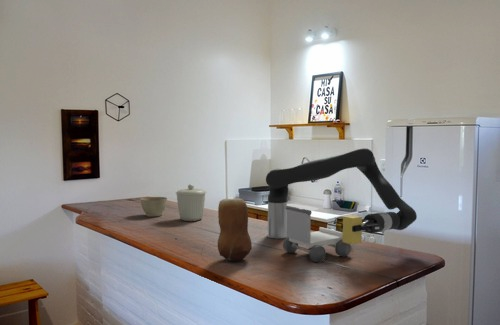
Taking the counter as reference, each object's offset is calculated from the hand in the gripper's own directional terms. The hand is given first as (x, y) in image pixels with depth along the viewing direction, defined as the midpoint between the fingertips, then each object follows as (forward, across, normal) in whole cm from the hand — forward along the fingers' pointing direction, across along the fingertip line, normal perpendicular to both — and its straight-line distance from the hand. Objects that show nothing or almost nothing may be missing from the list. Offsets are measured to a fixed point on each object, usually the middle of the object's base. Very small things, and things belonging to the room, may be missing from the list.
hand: (347, 227), depth 164 cm
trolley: (-2, -19, +15) cm, 24 cm away
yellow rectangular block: (-3, 0, +6) cm, 7 cm away
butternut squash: (+31, -30, +15) cm, 46 cm away
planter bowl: (+22, -142, +17) cm, 145 cm away
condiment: (-23, -26, +15) cm, 38 cm away
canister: (+9, -117, +16) cm, 118 cm away
